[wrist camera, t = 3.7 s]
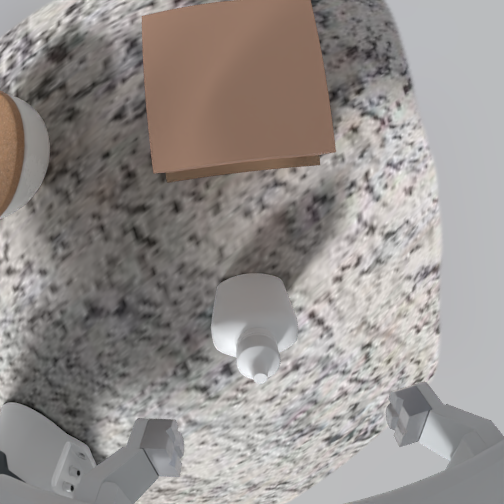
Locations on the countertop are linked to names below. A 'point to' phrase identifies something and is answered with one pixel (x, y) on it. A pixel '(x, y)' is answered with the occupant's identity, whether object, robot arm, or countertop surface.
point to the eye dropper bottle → (253, 323)
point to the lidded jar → (20, 153)
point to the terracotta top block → (234, 84)
